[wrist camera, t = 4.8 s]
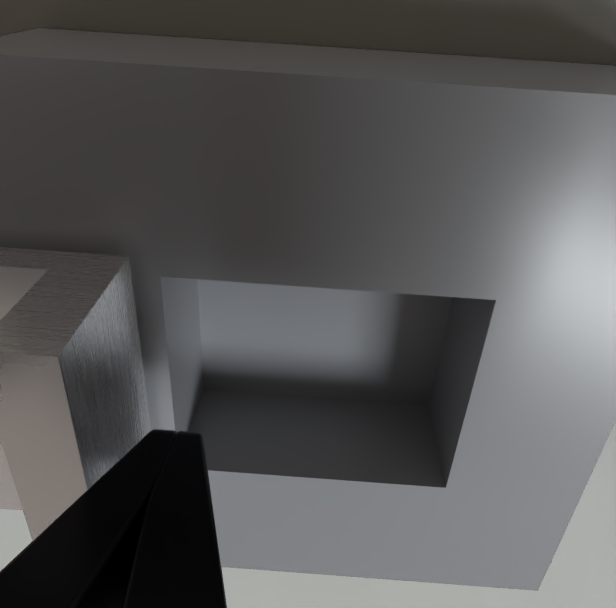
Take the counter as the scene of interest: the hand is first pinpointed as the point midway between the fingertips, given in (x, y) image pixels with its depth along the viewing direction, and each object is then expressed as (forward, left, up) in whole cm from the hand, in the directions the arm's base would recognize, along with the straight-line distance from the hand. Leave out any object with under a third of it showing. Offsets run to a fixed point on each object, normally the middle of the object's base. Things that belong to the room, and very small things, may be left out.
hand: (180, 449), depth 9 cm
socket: (-2, 0, -5) cm, 5 cm away
